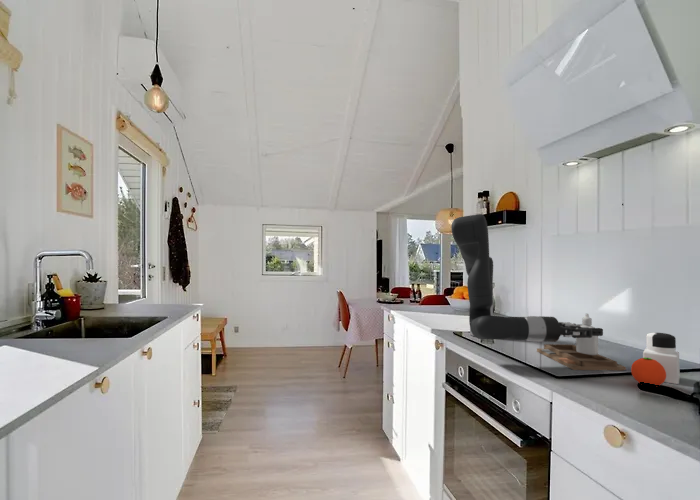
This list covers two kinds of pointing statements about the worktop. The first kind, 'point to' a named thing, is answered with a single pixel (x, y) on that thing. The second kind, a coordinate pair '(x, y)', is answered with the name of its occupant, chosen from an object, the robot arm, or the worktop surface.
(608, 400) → the worktop surface
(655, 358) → the medicine bottle
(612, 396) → the worktop surface
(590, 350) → the eye dropper bottle
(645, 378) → the clementine
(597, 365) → the wooden compartment tray
